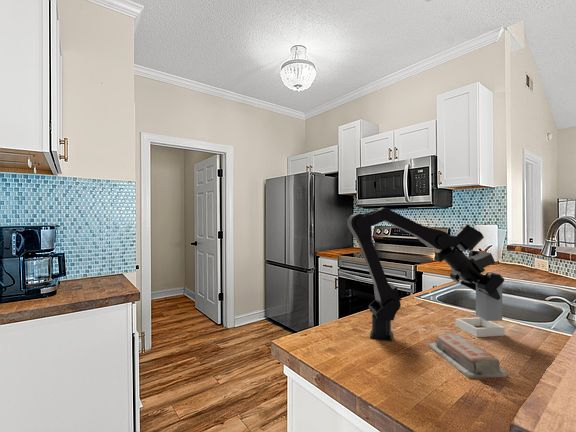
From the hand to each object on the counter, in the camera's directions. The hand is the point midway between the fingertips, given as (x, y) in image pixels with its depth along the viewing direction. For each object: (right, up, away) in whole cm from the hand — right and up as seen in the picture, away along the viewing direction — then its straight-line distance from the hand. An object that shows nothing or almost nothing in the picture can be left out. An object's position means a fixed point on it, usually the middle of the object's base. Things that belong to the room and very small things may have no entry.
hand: (493, 296), depth 96 cm
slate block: (-1, -7, 0) cm, 7 cm away
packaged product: (-19, -13, -16) cm, 28 cm away
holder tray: (-2, -12, +4) cm, 13 cm away
